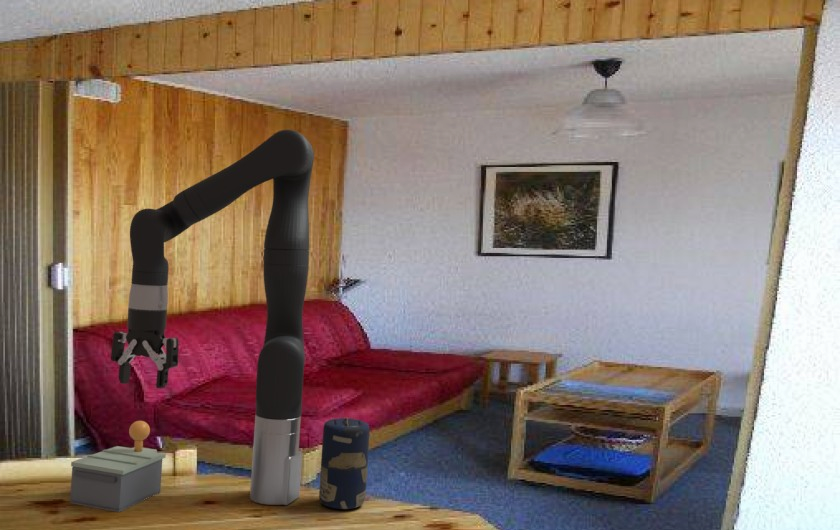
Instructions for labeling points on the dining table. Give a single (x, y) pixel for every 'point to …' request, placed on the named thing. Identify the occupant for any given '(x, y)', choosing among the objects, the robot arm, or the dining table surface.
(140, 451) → the lid
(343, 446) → the canister
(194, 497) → the dining table surface
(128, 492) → the parts tub
